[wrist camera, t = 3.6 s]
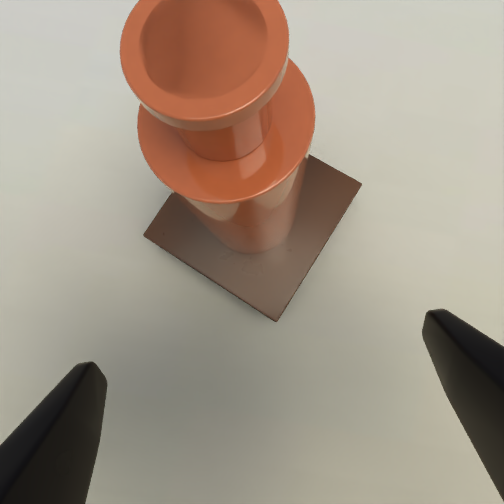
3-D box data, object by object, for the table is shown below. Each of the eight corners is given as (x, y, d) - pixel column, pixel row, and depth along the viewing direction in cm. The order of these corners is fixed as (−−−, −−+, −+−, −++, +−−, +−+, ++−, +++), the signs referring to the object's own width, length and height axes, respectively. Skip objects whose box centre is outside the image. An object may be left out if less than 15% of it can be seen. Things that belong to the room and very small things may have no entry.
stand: (353, 196, 23) (362, 183, 20) (276, 320, 22) (276, 322, 19) (233, 128, 24) (228, 108, 22) (156, 242, 23) (142, 235, 21)
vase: (313, 195, 20) (381, -7, 7) (264, 271, 20) (240, 210, 7) (237, 151, 21) (170, -103, 8) (189, 224, 21) (32, 84, 7)
